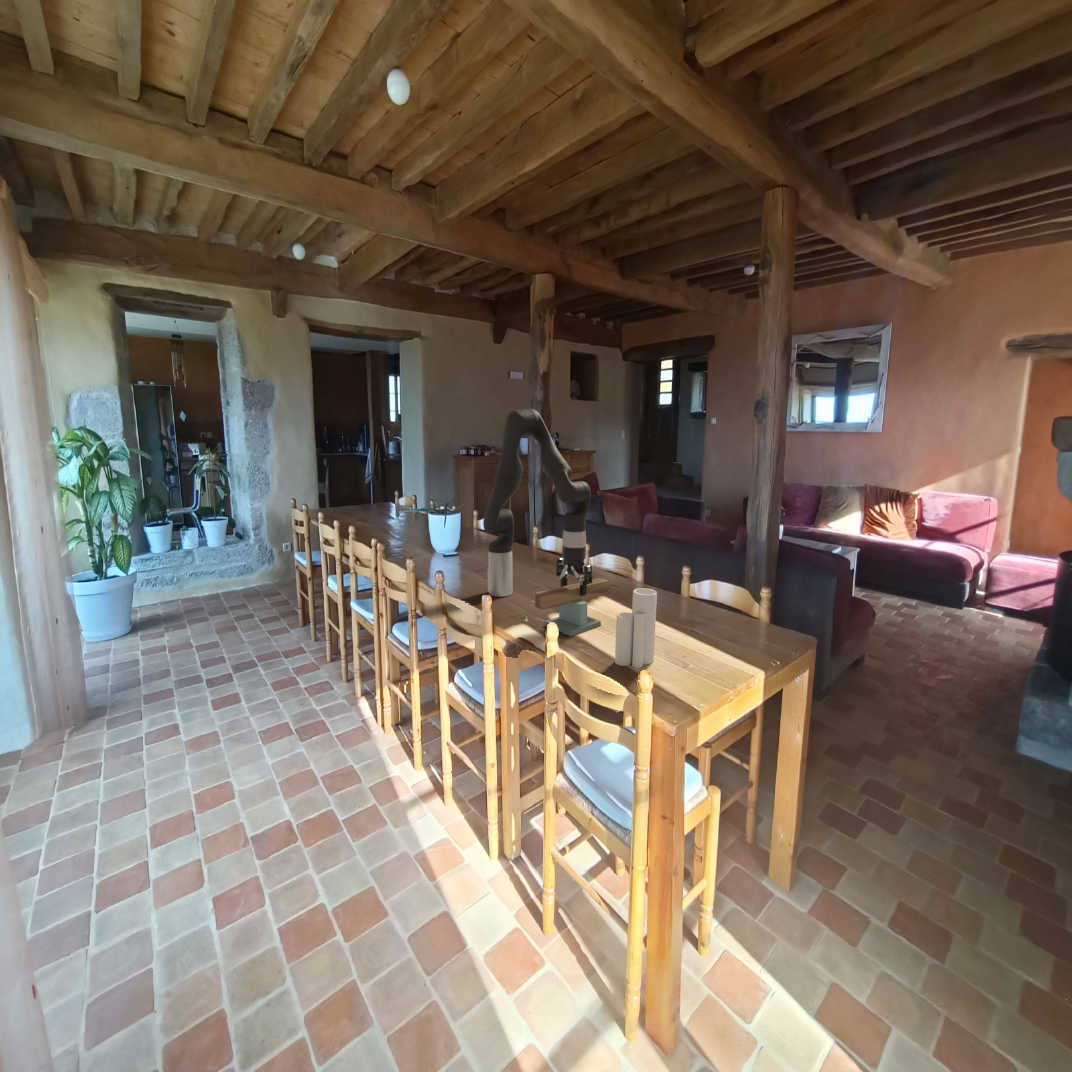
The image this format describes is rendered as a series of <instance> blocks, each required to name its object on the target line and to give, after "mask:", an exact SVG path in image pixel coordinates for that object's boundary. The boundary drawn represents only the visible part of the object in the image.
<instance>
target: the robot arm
mask: <svg viewBox="0 0 1072 1072" xmlns="http://www.w3.org/2000/svg"><path fill="white" fill-rule="evenodd" d="M528 437H533V439H534V440H535V441H536V442H537V443H538V445H539V449H540V462H541V465H542V467H543V468H544V471H546V474H547V475H548V476H549V478H550V479H551V480H552V482H553V486H554V489H555V492H556V494H557V497H558V498H559V501H561V502H562V503H563V504H565V505H567V506H571V508H570V510H568V511H566V512H565V513H564V514H563V528H562V529H563V531H562V548H561V549H562V551H561V557H559V558H556V566H555V567H556V568H555V576H556V577H559V579H560V587H563V586H567V585H568V577H569V575H570V576H572V577H573V576H574V577H575V579H577V580H578V583H580V596H585V595H586V593H587V584H591V583H592V580H593V566H592V564H585V560H586V557H587V552H586V551H587V534H586V533H587V532H586V527H587V525H586V524H587V523H586V522H587V520H586V518H587V514H588V512H589V508H590V504H591V499H592V489H591V487H590V485H589V484H588V482H586V481H582V480H580V481H579V480H578V481H571V477H572V476H573V470H572V468H571V466H570V464H569V463H568V462H567V460H565V457H563V455H562V454H561V453H560V451H559V450H558V448H557V446H556V444H555V442H554V439H553V438H552V436H551V433H550V432H549V429H548V427H547V426H546V424H545V421H544V419H543V418H542V416H541V414H540V413H539V412H538V411H537V410H536V409H534V408H521V409H513V410H511V411H509V413H508V415H507V416H506V420H505V425H504V433H503V440H502V447H501V452H500V456H499V457H500V458H499V461H498V466H497V469H496V473H495V478H494V482H493V486H492V491H491V494H490V498H489V500H488V504H487V507H486V510H485V511H484V515H483V523H482V524H483V530H484V532H485V533H486V534H487V535H499V536H498V537H496V539H495V540H493V541H491V542H489V543H488V548H487V549H488V553H487V554H488V568H487V592H488V594H489V595H490V596H491V597H498V598H499V597H501V598H502V597H509V596H511V595H513V592H514V591H513V585H514V584H513V583H514V582H513V581H514V580H513V545H514V535H515V533H514V532H515V518H514V514H513V512H512V510H511V509H509V508H503V506H504V505H505V504H506V502H508V501H509V500H510V498H511V497H513V495H514V494H515V493H516V492H517V491H518V489H519V488H520V486H521V482H522V478H523V474H524V466H523V463H522V460H521V459H520V456H519V446H520V441H521V439H522V438H528ZM502 508H503V509H502Z"/></svg>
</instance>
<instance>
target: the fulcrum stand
mask: <svg viewBox="0 0 1072 1072" xmlns="http://www.w3.org/2000/svg"><path fill="white" fill-rule="evenodd" d="M588 605H589V603H588V602H586V601H584V600H580V601H576V602H572V603H568V604H564V605H560V606H558V613H559V614H558V616H557V617H554V618H551V619H547V620H545V621H544V626H545V627H547V624H549V622H555V623H556V624H557V626H558V628H559V631H558V633H561V632H562V633H561V634H564V635H566V636H569V637H573V636H576V635H579V634H581V633H584V632H587V631H590V630H593V629H595V627H596V628H599V627H601V622H602V621H601V620H600V619H596V618H593V617H590V616H588ZM592 628H593V629H592ZM586 630H587V631H586Z"/></svg>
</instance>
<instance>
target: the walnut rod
mask: <svg viewBox="0 0 1072 1072" xmlns="http://www.w3.org/2000/svg"><path fill="white" fill-rule="evenodd" d="M606 594H609V580H608V579H605V578H602V577H598V578H594V579H593V578H592V583H591V584H587V593H586V595H585V596H580V582H577V583H572V584H567V586H563V587H561V586H559V587H555V588H551V589H546V590H541V591H537V592H534V607H535V608H537V609H539V610H541V611H544V610H548V609H553V608H557V607H559V606H560V605H564V604H568V603H572V602H576V601H580V600H582V601H584V600H587V599H591V598H595V597H599V596H603V595H606Z"/></svg>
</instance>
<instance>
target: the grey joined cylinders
mask: <svg viewBox="0 0 1072 1072" xmlns="http://www.w3.org/2000/svg"><path fill="white" fill-rule="evenodd" d="M657 597H658V592H657V591H656V590H654V589H653V588H652V589H651V588H644V587H642V588H635V589H633V590H632V609H631V612H627V611H626V612H625V611H624V612H623V611H622V612H618V613H616V621H615V623H616V624H615V625H616V626H615V627H616V628H615V654H614V655H615V657H614V660H615V661H614V663H615V664H616V665H618V666H623V667H624V666H625V667H627V666H632V667H633V668H635V669H639V668H643V665H644V666H645V665H651V664H653V663H654V657H655V655H654V654H655V640H656V639H655V638H656V637H655V635H656V620H657V619H656V618H657V601H658V600H657V599H658V598H657Z"/></svg>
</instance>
